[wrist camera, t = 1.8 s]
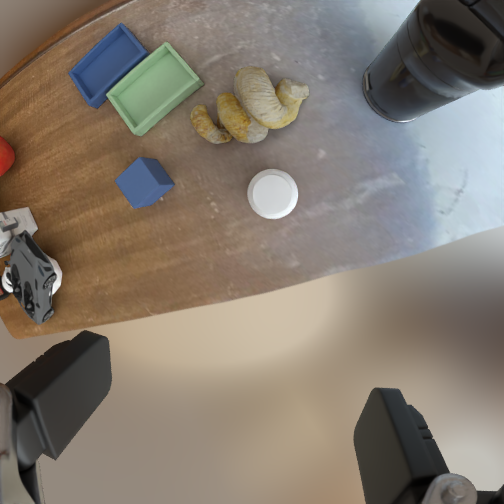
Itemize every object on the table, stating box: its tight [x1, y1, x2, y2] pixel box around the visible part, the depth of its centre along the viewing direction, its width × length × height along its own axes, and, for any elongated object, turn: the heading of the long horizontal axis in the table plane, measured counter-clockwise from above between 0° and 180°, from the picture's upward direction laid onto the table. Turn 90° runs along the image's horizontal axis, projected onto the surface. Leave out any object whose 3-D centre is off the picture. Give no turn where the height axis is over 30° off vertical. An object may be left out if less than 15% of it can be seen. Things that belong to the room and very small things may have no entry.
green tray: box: [106, 42, 204, 136], centre depth 37 cm, size 11×8×2 cm
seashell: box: [190, 66, 310, 144], centre depth 35 cm, size 10×6×15 cm
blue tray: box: [68, 23, 150, 108], centre depth 36 cm, size 11×8×2 cm
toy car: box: [2, 230, 62, 325], centre depth 42 cm, size 18×13×9 cm
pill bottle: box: [247, 169, 298, 219], centre depth 35 cm, size 5×5×10 cm
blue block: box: [115, 157, 175, 208], centre depth 38 cm, size 4×4×6 cm
